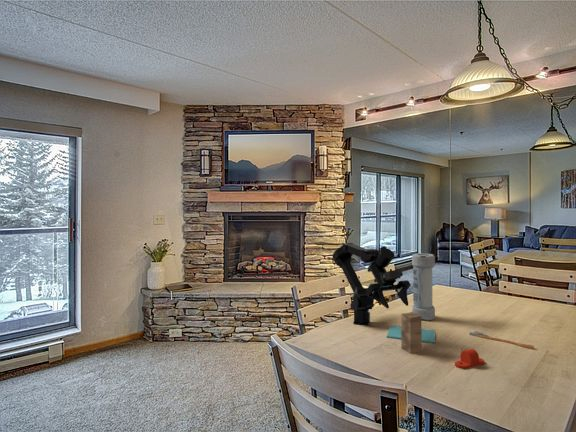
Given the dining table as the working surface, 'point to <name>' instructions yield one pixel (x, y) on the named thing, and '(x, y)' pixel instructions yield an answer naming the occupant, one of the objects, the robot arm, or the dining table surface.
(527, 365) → the dining table surface
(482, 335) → the axe
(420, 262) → the canister
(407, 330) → the walnut block
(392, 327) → the mat
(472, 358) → the bracket
